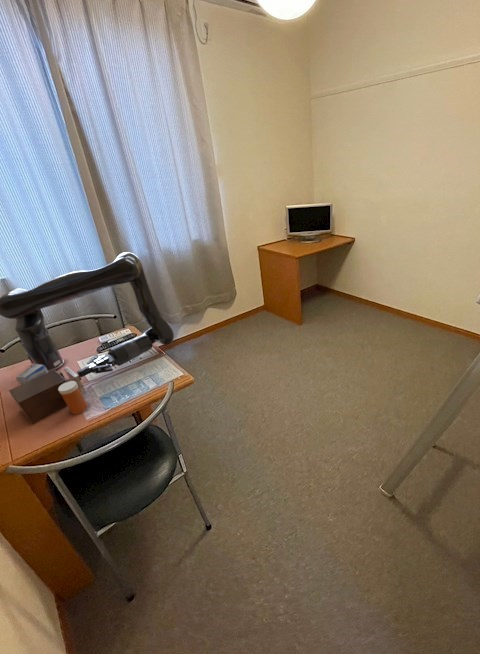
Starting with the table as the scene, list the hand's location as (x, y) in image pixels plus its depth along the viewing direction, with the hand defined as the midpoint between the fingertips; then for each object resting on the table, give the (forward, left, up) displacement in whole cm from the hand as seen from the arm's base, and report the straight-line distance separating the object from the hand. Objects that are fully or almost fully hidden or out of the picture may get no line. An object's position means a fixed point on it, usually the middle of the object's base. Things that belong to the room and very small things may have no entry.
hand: (78, 374), depth 119 cm
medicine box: (-14, -10, -6) cm, 18 cm away
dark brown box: (0, -12, -6) cm, 13 cm away
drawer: (0, -7, -5) cm, 9 cm away
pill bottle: (+11, -6, -6) cm, 14 cm away
